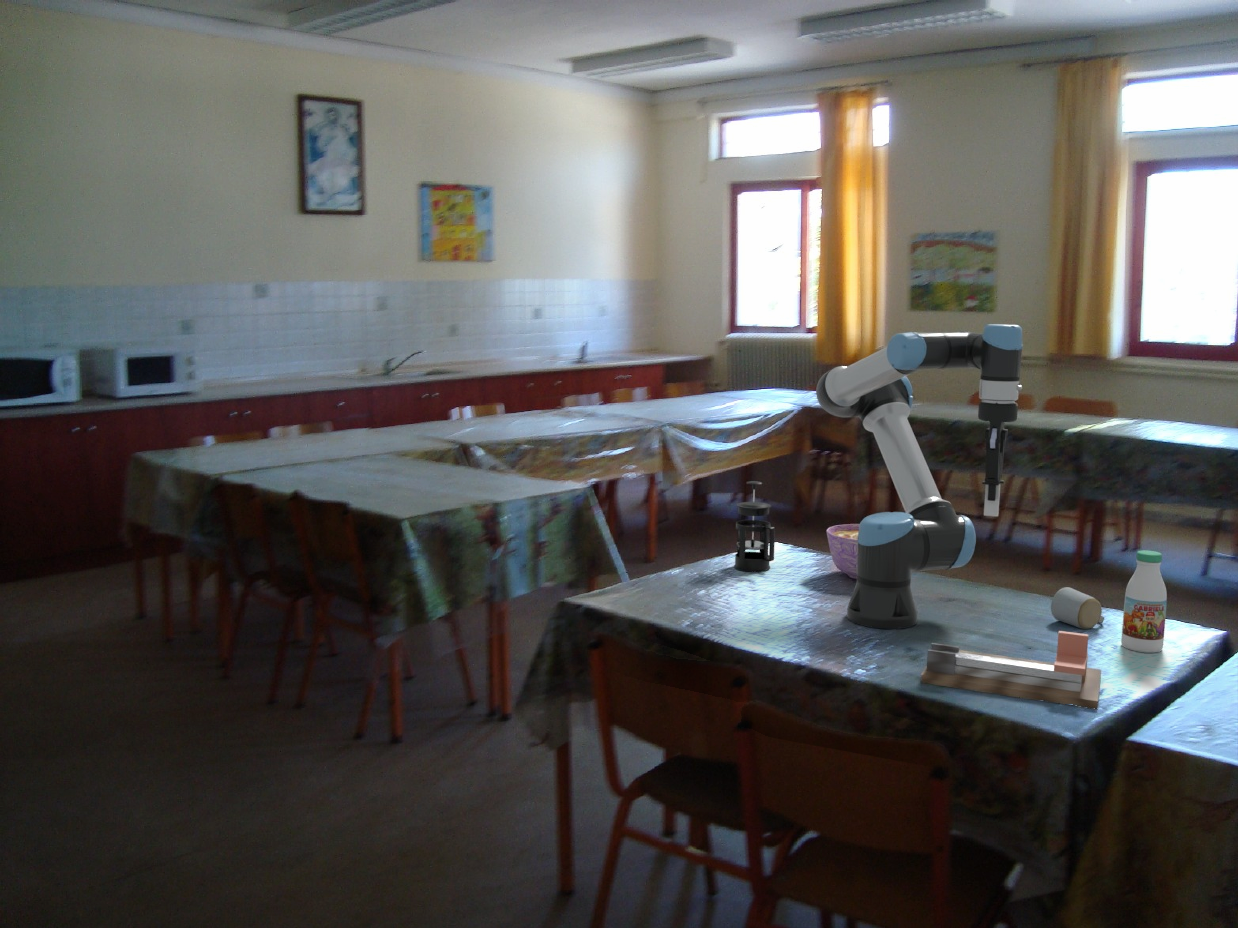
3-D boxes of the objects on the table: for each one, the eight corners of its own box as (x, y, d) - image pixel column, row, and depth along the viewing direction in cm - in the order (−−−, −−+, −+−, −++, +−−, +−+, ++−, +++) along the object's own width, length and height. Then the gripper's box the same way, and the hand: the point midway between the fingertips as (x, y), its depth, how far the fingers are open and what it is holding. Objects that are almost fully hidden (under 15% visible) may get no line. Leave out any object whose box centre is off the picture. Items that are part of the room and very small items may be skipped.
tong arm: (941, 662, 202) (941, 654, 202) (944, 657, 205) (944, 650, 205) (1080, 682, 192) (1081, 674, 192) (1081, 677, 195) (1082, 669, 195)
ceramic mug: (1078, 632, 232) (1081, 597, 231) (1048, 622, 239) (1051, 588, 238) (1113, 627, 236) (1116, 592, 235) (1083, 617, 244) (1085, 583, 242)
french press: (724, 567, 286) (726, 481, 282) (746, 561, 292) (748, 477, 289) (760, 575, 277) (763, 486, 274) (782, 569, 284) (785, 482, 281)
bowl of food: (903, 569, 285) (905, 526, 283) (905, 588, 266) (908, 542, 264) (826, 564, 289) (827, 522, 288) (823, 583, 270) (824, 538, 268)
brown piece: (920, 682, 201) (922, 653, 200) (937, 654, 217) (938, 627, 216) (1097, 709, 188) (1099, 679, 187) (1100, 677, 204) (1102, 649, 203)
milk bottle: (1113, 642, 225) (1120, 548, 222) (1148, 641, 226) (1156, 547, 223) (1134, 654, 218) (1141, 557, 215) (1170, 653, 218) (1179, 556, 215)
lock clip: (1053, 671, 193) (1055, 643, 192) (1056, 657, 200) (1058, 630, 199) (1084, 675, 190) (1086, 647, 190) (1086, 661, 198) (1088, 634, 197)
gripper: (1014, 405, 212) (1006, 523, 216) (1021, 399, 224) (1013, 511, 228) (974, 403, 215) (967, 519, 219) (983, 397, 227) (976, 508, 231)
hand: (991, 515), depth 223 cm, fingers closed
